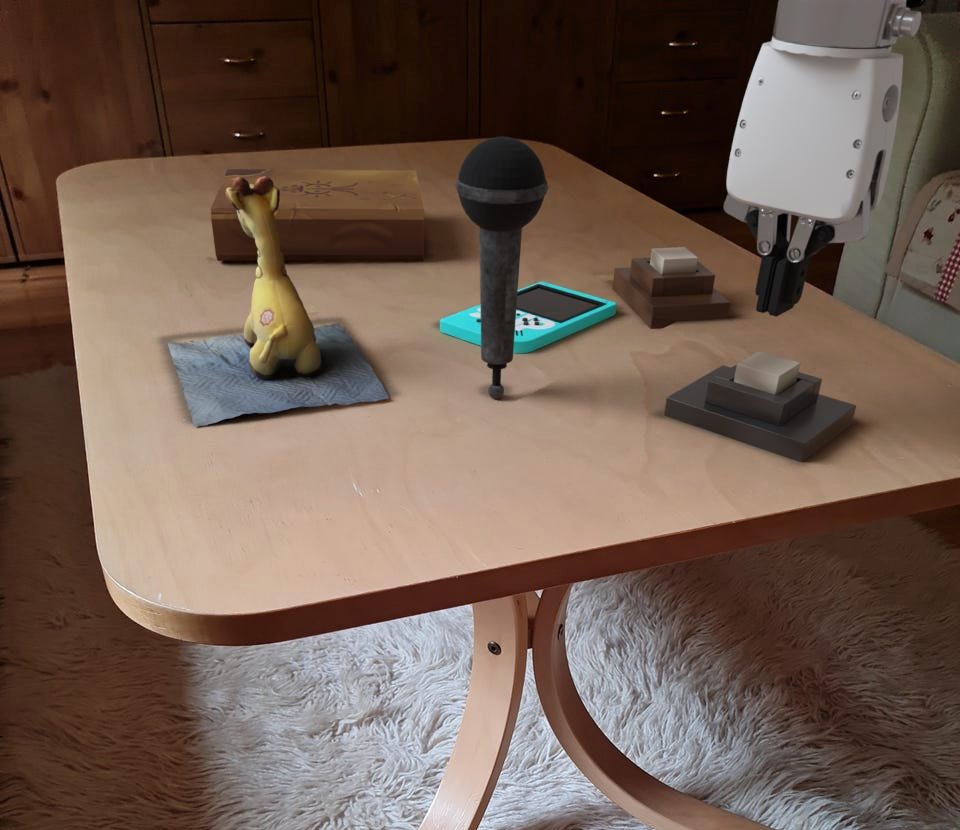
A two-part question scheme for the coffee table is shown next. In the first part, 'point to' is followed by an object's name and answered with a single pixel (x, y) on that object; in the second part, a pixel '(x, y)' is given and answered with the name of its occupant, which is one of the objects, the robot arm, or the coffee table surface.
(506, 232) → the microphone
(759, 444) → the near block
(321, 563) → the coffee table surface
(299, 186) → the brown wooden box
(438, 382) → the coffee table surface
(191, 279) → the coffee table surface
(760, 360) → the near key
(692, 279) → the far block
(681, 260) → the far key
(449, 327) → the handheld game console
